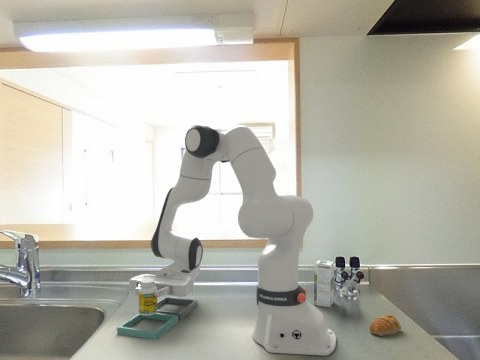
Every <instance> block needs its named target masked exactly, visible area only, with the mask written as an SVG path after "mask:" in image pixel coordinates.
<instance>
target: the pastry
mask: <svg viewBox="0 0 480 360" xmlns="http://www.w3.org/2000/svg"><path fill="white" fill-rule="evenodd" d="M401 329H402V326H401V324H400V321H398V318H397V317H396V316H395V315H392V314H383V315H382V316H378V317H376V318H375V319H374V320H373V321H371V324H370V326H369V331H370V334H374V335H377V336H381V337H384V336H392V335H394V334H397V333H399V332H400V331H401ZM398 331H399V332H398Z"/></svg>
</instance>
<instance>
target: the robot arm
mask: <svg viewBox="0 0 480 360" xmlns="http://www.w3.org/2000/svg"><path fill="white" fill-rule="evenodd" d="M184 145H185V146H184V147H185V151H184V154H183V155H182V156H183V157H182V161H181V164H180V169H179V176H178V179H177V182H176V184H175V186H173V187H171V188H170V189H169V190H168V192H167V194H166V197H165V199H164V202H163V205H162V208H161V212H160V215H159V219H158V222H157V226H156V228H155V231H154V234H153V235H152V237H151V241H150V249H151V252H152V253H153V255H154V256H155V257H157V258H160V259H167V260H171V261H173V263H171V264H169V265H166V266H165V267H163V268H160V270H159V271H158V272H157V273H156V274H150V273H142V274H138V275H136V276H132V277H131V278H130V279H128V289H129V290H130V291H133V292H134V295H138V296H139V289H140V288H141V287H142V286H141V281H142V280H144V279H154V280H155V285H154V286H155V287H156V288H157V290H155V291H154V296H155V297H157V298H161V297H164V296H171V297H179V298H181V297H182V298H184V297H187V296H188V295H190V294H191V293H193V292H194V287H195V279H196V278H197V276H198V274H199V273H200V269H201V262H202V259H203V255H204V249H203V244H202V242H201V240H200V238H198V237H196V236H192V235H188V234H184V233H179V232H176V231H173V228H172V227H173V224H174V220H175V217H176V213H177V211H178V209H179V207H181V206H182V205H184V204H185V205H186V204H190V203H196V202H198V201H201V200H203V199H204V198H205V197H206V196H208V195H209V192H210V189H211V185H212V178H213V177H212V176H213V168H214V165H216V163H217V162H221V163H229V164H230V166H231V168H232V170H233V173H234V174H235V176H236V179H237V181H238V183H239V184H238V185H239V186H240V189H241V192H242V204H241V206H240V208H239V210H238V214H237V221H238V226H239V229H240V231H241V232H242V234H244V235H245V236H246V237H248V238H251V239H260V240H261V239H263V240H264V239H265V240H266V239H267V242H266V243H265V247H264V248H263V249H262V251H260V253H259V255H258V259H257V284H256V290H255V297H256V298H255V301H256V305H257V308H256V309H257V311H256V319H255V324H254V329H253V332H252V338H253V340H254V341H255V342H256V343H257V344H259V345H261V346H262V347H263V348H264V349H265V351H266V352H268V353H274V354H275V353H276V354H288V355H289V354H291V355H306V356H307V355H308V356H309V355H310V356H329V355H330V354H332V353H333V352H334V351H335V349H336V346H337V337H336V334H335V332H334V331H333V329H331V328H328V325H327V321H326V317H325V315H324V314H323V313H322V312H321V311H320V310H319V309H318V308H316V306H314V305H313V304H311V302H309V301H307V300H306V299H307V292H306V287H305V286H304V287H302V286H301V285H299V262H300V261H299V259H300V253H301V248H302V244H303V241H304V237H305V234H306V231H307V229H308V227H309V226H310V224H311V223H312V222H313V220H314V210H313V206H312V204H311V203H310V201H308V200H307V199H306V198H304V197H302V196H297V195H294V194H286V195H285V194H283V195H278V193H277V191H276V189H275V187H274V186H275V185H274V182H275V180H276V176H277V172H276V171H277V170H276V168H275V166H274V164H273V163H272V161H271V159H270V157H269V155H268V153H267V152H266V150H265V148H264V146H263V144H262V143H261V141H260V139H258V137H257V136H256V134H255V133H254V132H253V131H252V130H251V129H250V128H249V127H248V126H245V125H237V126H233V127H232V128H227V127H223V126H219V125H211V124H209V125H208V124H206V123H205V124H204V123H199V124H194V125H192V126H191V127H189V129H188V130H186V134H185V137H184Z"/></svg>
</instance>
